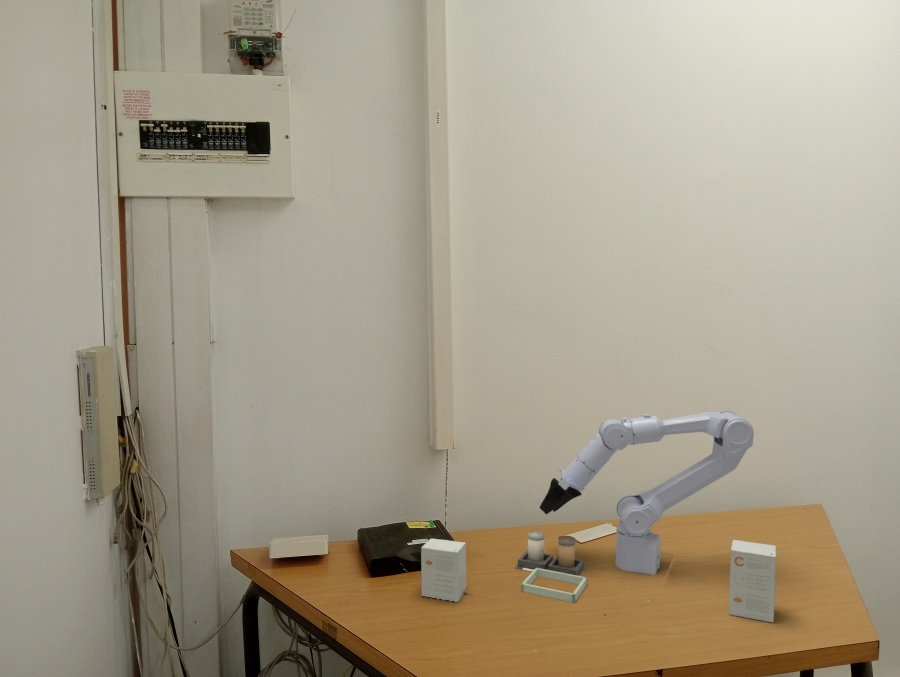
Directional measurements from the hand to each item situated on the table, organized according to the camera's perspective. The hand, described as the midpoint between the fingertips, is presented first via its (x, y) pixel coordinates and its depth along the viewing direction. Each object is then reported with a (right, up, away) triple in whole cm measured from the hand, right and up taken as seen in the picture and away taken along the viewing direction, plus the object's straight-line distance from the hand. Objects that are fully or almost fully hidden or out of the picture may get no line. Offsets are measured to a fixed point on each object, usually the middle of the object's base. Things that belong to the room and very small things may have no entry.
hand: (547, 509), depth 158 cm
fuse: (-3, -12, 0) cm, 12 cm away
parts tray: (0, -14, -12) cm, 19 cm away
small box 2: (+37, -15, -20) cm, 45 cm away
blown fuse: (+4, -12, -3) cm, 13 cm away
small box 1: (-23, -14, -13) cm, 30 cm away
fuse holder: (+1, -13, -2) cm, 13 cm away
